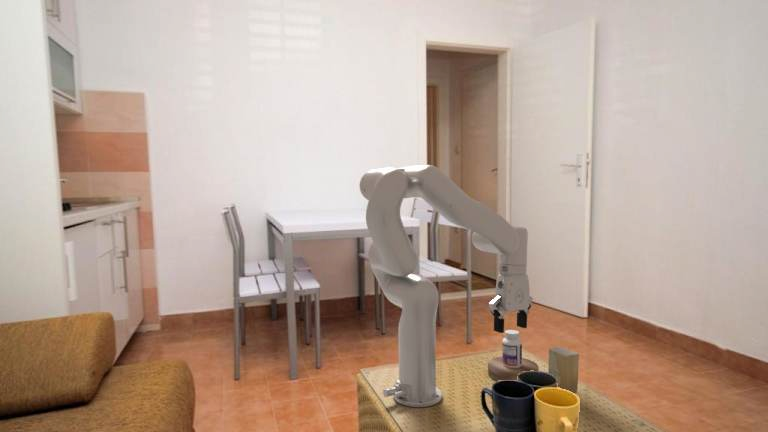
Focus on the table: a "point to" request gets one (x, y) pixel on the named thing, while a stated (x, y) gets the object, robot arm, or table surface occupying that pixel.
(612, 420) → the table surface
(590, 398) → the table surface
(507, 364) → the pill bottle
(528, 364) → the walnut base
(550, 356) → the skincare box
